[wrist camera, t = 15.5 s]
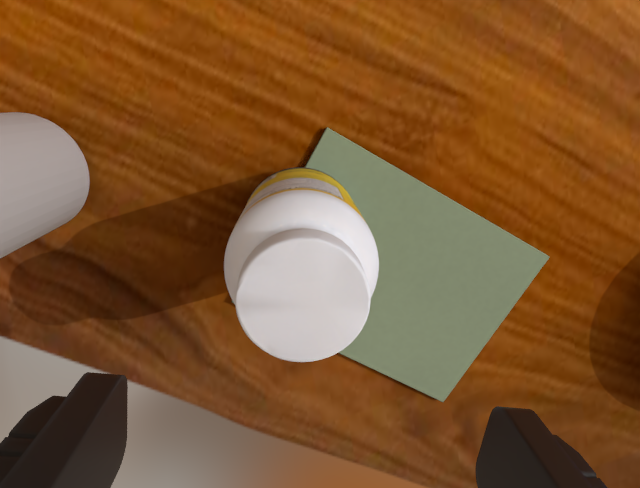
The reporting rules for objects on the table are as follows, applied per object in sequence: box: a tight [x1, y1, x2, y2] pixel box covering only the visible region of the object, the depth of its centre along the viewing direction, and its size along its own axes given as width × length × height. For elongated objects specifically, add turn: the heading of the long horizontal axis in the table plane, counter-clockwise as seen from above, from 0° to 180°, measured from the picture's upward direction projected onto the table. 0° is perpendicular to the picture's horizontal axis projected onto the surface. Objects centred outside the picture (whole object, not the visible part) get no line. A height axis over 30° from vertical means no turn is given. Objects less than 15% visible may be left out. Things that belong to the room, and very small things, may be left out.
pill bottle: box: [224, 167, 379, 362], centre depth 21 cm, size 6×6×12 cm
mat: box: [232, 127, 549, 402], centre depth 28 cm, size 16×12×1 cm
